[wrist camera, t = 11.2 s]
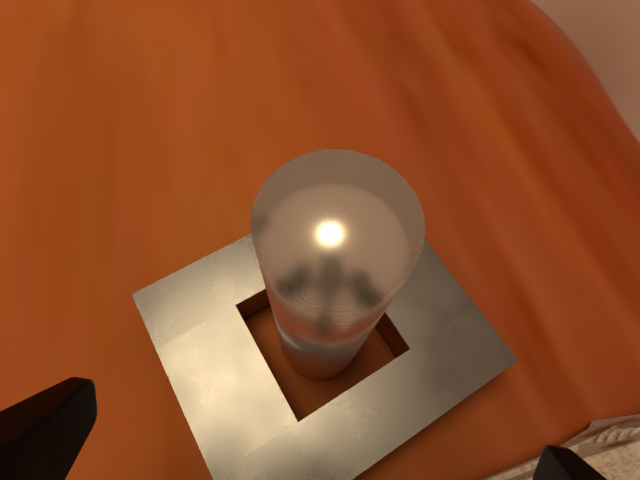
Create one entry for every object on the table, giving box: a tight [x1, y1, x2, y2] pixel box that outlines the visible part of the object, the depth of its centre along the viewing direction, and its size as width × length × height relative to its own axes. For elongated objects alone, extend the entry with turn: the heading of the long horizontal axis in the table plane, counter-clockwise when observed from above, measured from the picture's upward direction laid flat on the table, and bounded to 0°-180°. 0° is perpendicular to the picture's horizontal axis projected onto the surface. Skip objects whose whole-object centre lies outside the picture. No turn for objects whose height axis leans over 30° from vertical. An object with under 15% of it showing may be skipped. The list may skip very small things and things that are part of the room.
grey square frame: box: [132, 234, 518, 480], centre depth 21 cm, size 12×14×3 cm
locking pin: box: [251, 149, 425, 380], centre depth 16 cm, size 4×4×14 cm
